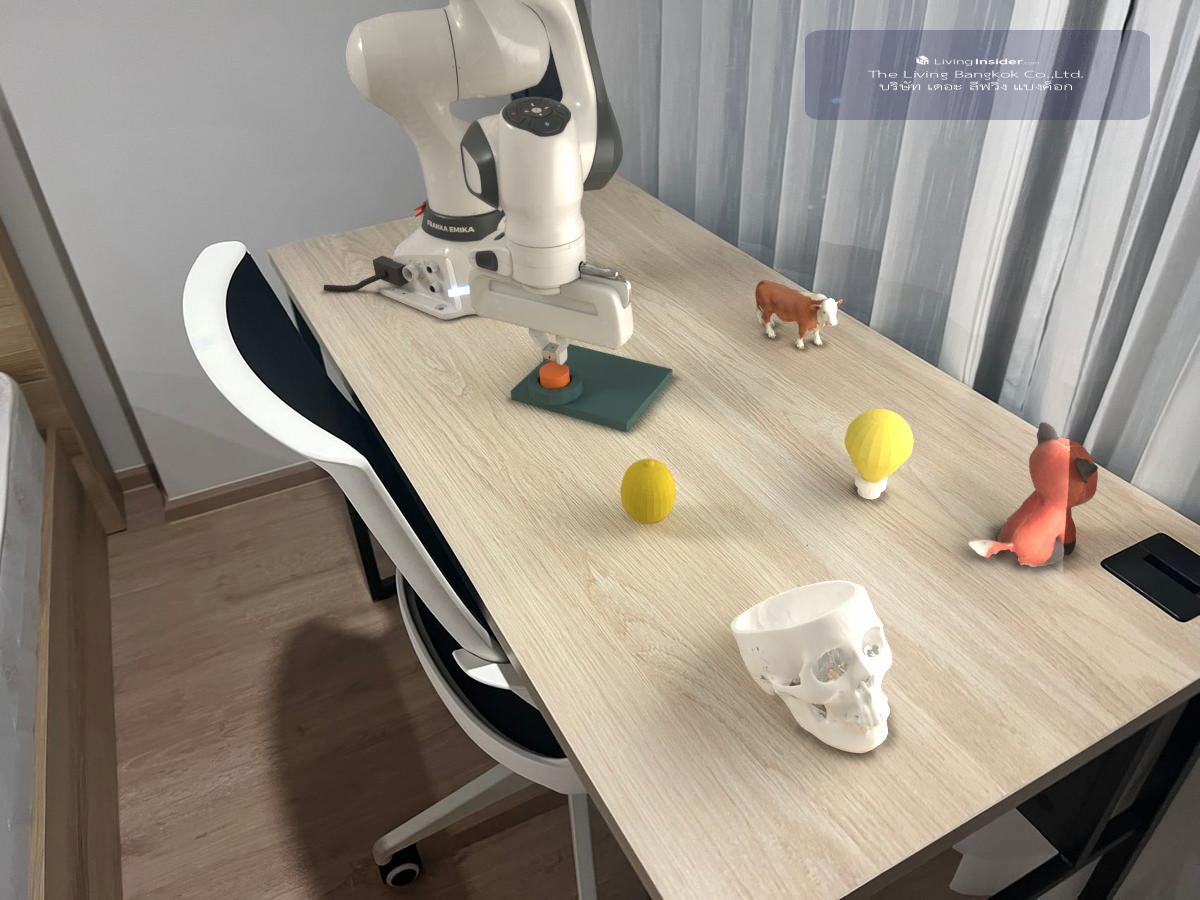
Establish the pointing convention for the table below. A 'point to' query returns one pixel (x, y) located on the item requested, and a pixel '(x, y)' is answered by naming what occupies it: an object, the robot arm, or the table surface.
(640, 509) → the lemon
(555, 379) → the button
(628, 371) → the scale
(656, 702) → the table surface
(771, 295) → the bull figurine
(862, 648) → the skull bowl
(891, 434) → the light bulb
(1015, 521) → the stuffed fox
